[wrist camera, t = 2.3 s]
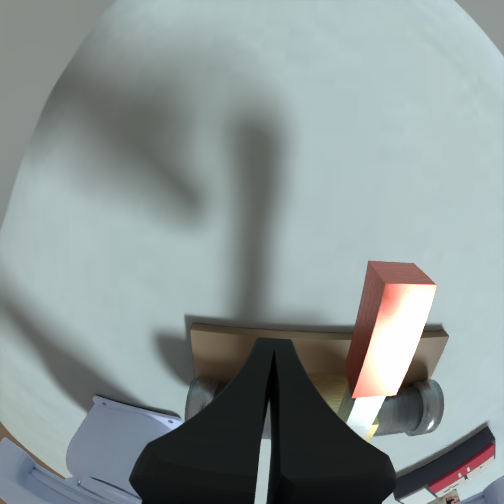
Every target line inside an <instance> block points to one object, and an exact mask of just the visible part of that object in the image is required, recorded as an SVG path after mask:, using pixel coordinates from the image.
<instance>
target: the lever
mask: <svg viewBox="0 0 504 504" xmlns="http://www.w3.org/2000/svg"><path fill="white" fill-rule="evenodd" d="M435 289H436V284H435V283H434V282H433V281H432V280H431V279H430V278H429V277H428V276H427V275H426V274H425V273H424V272H423V271H422V270H420V269H419V268H418V267H417V266H416V265H415V264H414V263H399V262H382V261H368V265H367V271H366V276H365V282H364V287H363V292H362V296H361V301H360V306H359V310H358V315H357V319H356V323H355V328H354V332H353V336H352V340H351V343H350V347H349V351H348V355H347V358H346V362H345V365H344V369H345V373H346V377H347V381H348V384H347V387H346V390H345V393H344V395H343V398H342V401H341V404H340V407H339V409H338V412H337V415H338V416H339V417H340V418H341V419H342V420H343V421H344V422H345V423H346V424H347V425H348V426H349V427H350V428H351V429H352V430H353V431H355V432H356V433H357V434H358V435H359V436H361V437H362V438H363V439H364V438H365V436H366V434H367V432H368V430H369V429H370V427H371V425H372V423H373V421H374V419H375V417H376V415H377V413H378V411H379V409H380V407H381V405H382V403H383V401H384V398H385V396H391V395H396V393H397V391H398V389H399V387H400V385H401V382H402V380H403V378H404V376H405V373H406V371H407V369H408V366H409V364H410V362H411V359H412V357H413V354H414V352H415V349H416V347H417V344H418V341H419V339H420V336H421V333H422V330H423V327H424V324H425V322H426V319H427V316H428V312H429V309H430V306H431V303H432V299H433V296H434V293H435Z"/></svg>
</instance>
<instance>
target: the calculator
mask: <svg viewBox="0 0 504 504" xmlns="http://www.w3.org/2000/svg"><path fill="white" fill-rule="evenodd" d="M494 459H495V437H494V436H493V434H492V432H491V431H490V429H489V428H488V427H486V428H484V429H483V430H482V431H480V432H479V433H477V434H476V435H474V436H473V437H471V438H470V439H468V440H467V441H465V442H464V443H462V444H461V445H459V446H458V447H456V448H454V449H453V450H451V451H450V452H448V453H446V454H445V455H443V456H441V457H440V458H438V459H436V460H435V461H433V462H431V463H430V464H428V465H426V466H424V467H423V468H419V469H416V470H414V471H412V472H410V473H408V474H406V475H404V476H402V477H399V478H397V481H398V484H397V487H396V488H395V490H394V491H393V494H394V498H395V500H396V501H398V502H400V503H402V504H427V503H429V502H431V501H433V500H434V499H436V497H439V498H440V497H442V496H444V495H445V494H447V493H449V492H451V491H452V490H454V489H456V488H457V487H459V486H460V485H462V484H464V483H465V482H466V481H465V480H466V479H468V480H470V479H471V478H473V477H474V476H476V475H477V474H479V473H480V472H482V471H483V470H484V469H486V468H487V467H488V466H490V465H491V464H492V463H494Z"/></svg>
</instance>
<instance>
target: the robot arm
mask: <svg viewBox="0 0 504 504" xmlns="http://www.w3.org/2000/svg"><path fill="white" fill-rule="evenodd" d="M269 398H270V421H271V459H270V471H269V482H268V492H267V502H266V504H382V502H383V501H384V500H385V499H386V498H387V497H388V496H389V495H390V494H391V493H392V492H393V491H394V490H395V488H396V487H397V484H398V481H397V477H396V473H395V470H394V467H393V465H392V463H391V460H390V458H389V456H388V455H387V454H385V453H384V452H382V451H380V450H379V449H377V448H376V447H374V446H373V445H371V444H370V443H368V442H367V441H366V440H364V439H363V438H362V437H361V436H359V435H358V434H357V433H356V432H355V431H353V430H352V429H351V428H350V427H349V426H348V425H347V424H346V423H345V422H344V421H343V420H342V419H341V418H340V417H339V416H338V415H337V414H336V413H335V412H334V411H333V410H332V408H331V407H330V406H329V405H328V404H327V402H326V401H325V400H324V399H323V397H322V396H321V395H320V393H319V392H318V390H317V389H316V387H315V386H314V384H313V383H312V381H311V379H310V378H309V376H308V374H307V373H306V371H305V369H304V367H303V365H302V363H301V361H300V359H299V357H298V355H297V352H296V350H295V347H294V344H293V341H292V340H291V339H279V338H263V337H259V338H257V339H256V341H255V344H254V346H253V348H252V350H251V352H250V354H249V355H248V357H247V359H246V360H245V362H244V363H243V365H242V366H241V368H240V369H239V371H238V372H237V373H236V375H235V376H234V377H233V379H232V380H231V381H230V382H229V384H228V385H227V386H226V387H225V388H224V389H223V390H222V391H221V392H220V393H219V394H218V395H217V396H216V397H215V398H214V399H213V400H212V401H211V402H210V403H209V404H208V405H207V406H206V407H204V408H203V409H202V410H201V411H200V412H198V413H197V414H196V415H194V416H193V417H192V418H190V419H189V420H187V421H186V422H184V423H182V420H181V419H180V418H179V417H175V416H170V415H166V414H161V413H157V412H152V411H148V410H144V409H140V408H136V407H133V406H129V405H125V404H122V403H118V402H115V401H112V400H108V399H105V398H102V397H99V396H93V398H92V399H93V402H94V405H93V407H92V408H91V410H90V411H89V413H88V414H87V416H86V417H85V419H84V421H83V422H82V424H81V425H80V427H79V428H78V430H77V432H76V433H75V435H74V436H73V438H72V440H71V441H70V443H69V446H68V449H67V454H66V464H67V468H68V470H69V472H70V474H71V475H72V476H73V477H72V478H71V477H70V478H66V479H65V480H63V479H61V478H60V477H58V476H56V475H54V474H53V473H51V472H49V471H47V470H46V469H44V468H42V467H41V466H39V465H38V464H36V463H35V461H34V460H33V459H32V458H31V457H30V456H29V455H28V454H27V453H26V452H25V451H24V450H22V449H21V448H20V447H18V446H17V445H15V444H14V443H13V442H11V441H10V440H8V439H7V438H3V439H2V441H1V442H0V498H1V499H3V500H4V501H5V502H6V503H7V504H254V500H255V492H256V483H257V473H258V463H259V453H260V444H261V439H262V434H263V429H264V424H265V419H266V414H267V408H268V403H269ZM79 481H80V483H78V482H79ZM455 504H504V476H502V477H500V478H498V479H497V480H495V481H494V482H492V483H491V484H490V485H488V486H487V487H486V488H485V489H484V490H483V491H482V492H480V493H478V494H476V495H474V496H471V497H469V498H467V499H465V500H462V501H460V502H457V503H455Z"/></svg>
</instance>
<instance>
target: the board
mask: <svg viewBox="0 0 504 504" xmlns="http://www.w3.org/2000/svg"><path fill="white" fill-rule="evenodd" d="M190 334H191V344H192V354H193V363H194V371H195V377H201V378H208V379H216V380H220V386H227V385H228V384H229V382H230V381H231V380H232V379H233V377H234V376H235V375H236V373H237V372H238V371H239V369H240V368H241V366H242V365H243V363H244V362H245V360H246V359H247V357H248V355H249V354H250V352H251V350H252V348H253V346H254V344H255V341H256V339H257V338H259V337H263V338H279V339H291V340H292V341H293V344H294V347H295V350H296V352H297V355H298V357H299V359H300V361H301V363H302V365H303V367H304V369H305V371H306V373H345V369H344V365H345V362H346V358H347V355H348V351H349V347H350V343H351V340H352V336H353V333H324V332H297V331H278V330H262V329H249V328H237V327H226V326H216V325H206V324H197V323H193V325H192V327H191V329H190ZM448 338H449V335H448V334H447V333H446V332H445V330H444V331H426V332H422V333H421V336H420V339H419V341H418V344H417V347H416V349H415V352H414V354H413V357H412V359H411V362H410V364H409V366H408V369H407V371H406V373H405V376H404V378H403V380H402V382H401V385H400V387H399V388H405V387H409V385H410V383H411V382H413V381H422V380H430V378H431V376H432V374H433V372H434V370H435V368H436V366H437V363H438V361H439V359H440V357H441V355H442V352H443V350H444V348H445V345H446V343H447V340H448Z"/></svg>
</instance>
